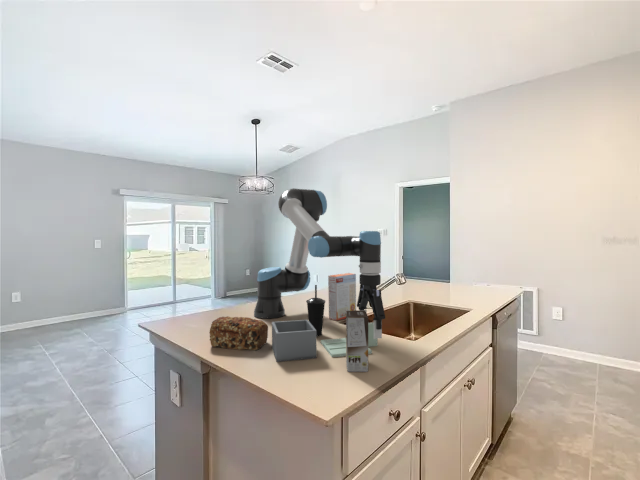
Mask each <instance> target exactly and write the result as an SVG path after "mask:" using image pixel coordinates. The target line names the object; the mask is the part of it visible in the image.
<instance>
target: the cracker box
mask: <svg viewBox="0 0 640 480" xmlns="http://www.w3.org/2000/svg"><path fill="white" fill-rule="evenodd" d="M327 278H328V279H327V281H328V288H327V289H328V319H329V320H332V321H341V320H346V311H356V310H357V274H356V273H350V272H346V273H340V274H339V273H338V274H337V273H336V274H332V275H331V274H330V275H328V276H327Z"/></svg>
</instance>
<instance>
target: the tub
mask: <svg viewBox="0 0 640 480" xmlns="http://www.w3.org/2000/svg"><path fill="white" fill-rule="evenodd" d="M271 349H272V353H273V355H274V358H275V361H276V363H279V362H287V361H289V362H291V361H297V360H299V361H300V360H310V359H317V337H316V329H315V328H314V327H313V326H312V324H311V323H310V322H309V320H308V319H299V320H298V319H296V320H283V321H281V320H280V321H278V320H277V321H271Z"/></svg>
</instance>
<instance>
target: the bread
mask: <svg viewBox="0 0 640 480" xmlns="http://www.w3.org/2000/svg"><path fill="white" fill-rule="evenodd" d="M268 336H269V325H268V324H267V323H266V322H264V321H263V320H261V319H256V318H254V319H253V318H251V317H247V316H246V317H243V316H220V317H217V318H216V319H214V320H213V321H211V323H210V328H209V341H210V342H209V343H210V346H211V347H213V348H216V347H219V348H222V349H231V350H238V351H239V350H241V351H242V350H244V351H245V350H250V351H258V350H260V349H261V348H262V347H263V346H264V345H265V344H267V342H268V338H269V337H268Z"/></svg>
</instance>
